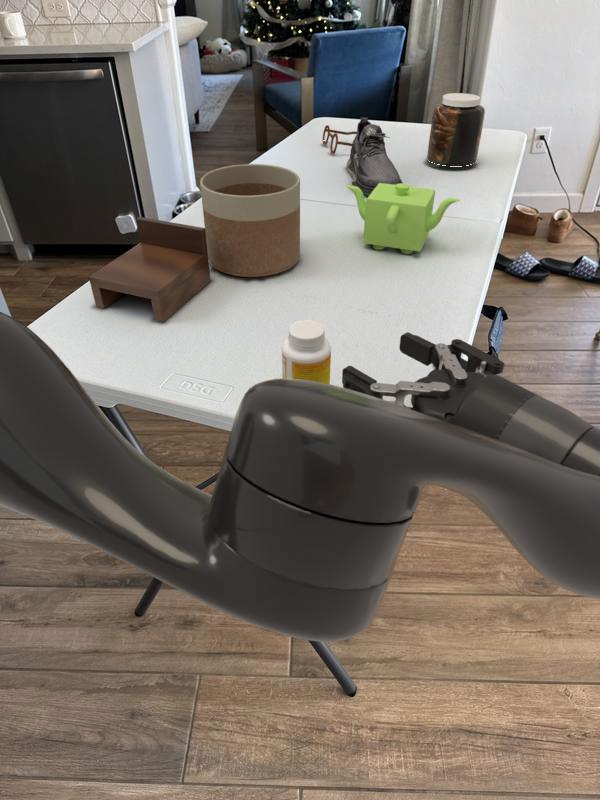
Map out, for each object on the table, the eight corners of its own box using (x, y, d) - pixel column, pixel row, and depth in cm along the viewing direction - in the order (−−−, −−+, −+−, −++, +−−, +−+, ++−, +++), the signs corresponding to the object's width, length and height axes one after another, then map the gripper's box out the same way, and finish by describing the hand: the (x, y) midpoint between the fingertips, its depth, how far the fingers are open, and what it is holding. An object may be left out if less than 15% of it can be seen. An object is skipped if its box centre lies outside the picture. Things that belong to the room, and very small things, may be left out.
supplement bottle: (338, 403, 69) (342, 330, 63) (302, 422, 66) (303, 348, 60) (308, 382, 73) (309, 310, 66) (273, 399, 70) (271, 326, 63)
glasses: (321, 143, 157) (321, 123, 154) (367, 140, 159) (368, 120, 156) (333, 157, 147) (334, 136, 144) (382, 154, 149) (384, 133, 146)
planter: (258, 233, 109) (255, 157, 100) (318, 260, 100) (320, 179, 91) (190, 259, 100) (179, 178, 92) (249, 290, 91) (244, 204, 83)
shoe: (362, 204, 121) (366, 144, 113) (338, 165, 142) (341, 112, 134) (410, 202, 122) (417, 142, 115) (380, 163, 143) (384, 110, 136)
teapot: (451, 251, 103) (462, 191, 96) (390, 268, 98) (397, 205, 91) (400, 222, 113) (406, 166, 107) (342, 235, 108) (345, 178, 102)
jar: (455, 174, 137) (467, 104, 127) (417, 163, 143) (425, 96, 134) (484, 164, 143) (497, 97, 133) (446, 153, 149) (456, 89, 140)
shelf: (163, 322, 84) (153, 265, 78) (95, 306, 87) (81, 250, 82) (210, 281, 94) (205, 227, 88) (148, 268, 97) (139, 216, 92)
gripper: (462, 512, 47) (322, 417, 56) (552, 431, 54) (415, 359, 63) (478, 444, 42) (323, 353, 51) (575, 366, 49) (424, 299, 59)
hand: (374, 357), depth 57 cm, fingers open, 8 cm apart
